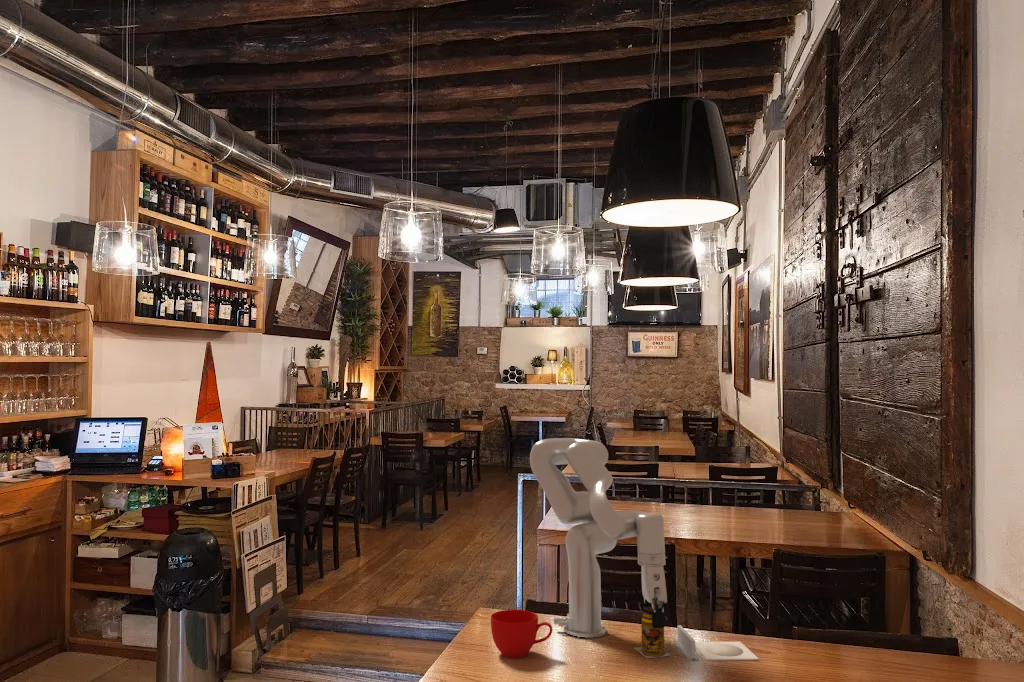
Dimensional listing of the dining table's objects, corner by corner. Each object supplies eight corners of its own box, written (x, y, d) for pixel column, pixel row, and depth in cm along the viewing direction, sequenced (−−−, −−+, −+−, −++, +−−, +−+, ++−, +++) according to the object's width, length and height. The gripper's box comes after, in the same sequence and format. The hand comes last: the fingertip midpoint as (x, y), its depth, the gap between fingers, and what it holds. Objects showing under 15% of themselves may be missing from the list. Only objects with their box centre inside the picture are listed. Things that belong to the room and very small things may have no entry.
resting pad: (706, 660, 188) (706, 658, 188) (691, 643, 202) (691, 641, 202) (758, 660, 189) (758, 658, 189) (740, 642, 203) (740, 641, 203)
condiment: (647, 658, 190) (646, 612, 191) (633, 648, 198) (632, 604, 199) (671, 656, 192) (670, 610, 193) (656, 646, 200) (655, 602, 201)
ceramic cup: (548, 665, 185) (548, 625, 186) (485, 660, 188) (485, 621, 189) (555, 649, 197) (555, 611, 198) (496, 644, 201) (496, 608, 202)
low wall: (688, 660, 188) (687, 641, 189) (674, 643, 202) (673, 625, 203) (699, 660, 188) (698, 641, 189) (684, 643, 202) (684, 625, 203)
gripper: (673, 564, 189) (676, 631, 187) (657, 552, 206) (660, 614, 204) (645, 565, 188) (647, 632, 186) (631, 553, 206) (634, 614, 203)
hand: (654, 622), depth 195 cm, fingers open, 9 cm apart
